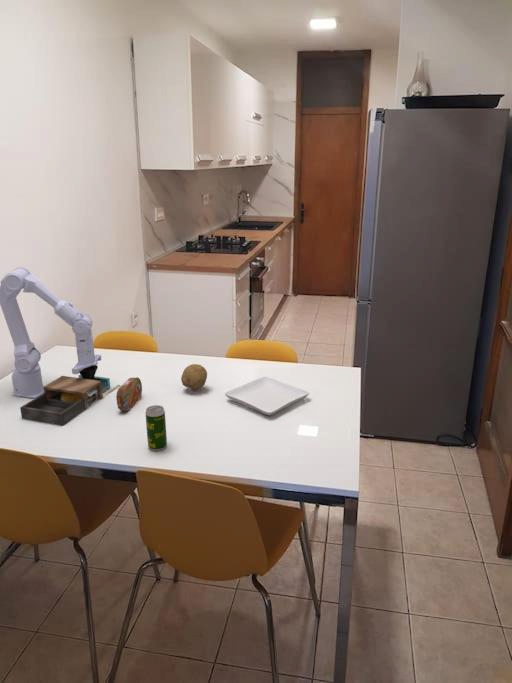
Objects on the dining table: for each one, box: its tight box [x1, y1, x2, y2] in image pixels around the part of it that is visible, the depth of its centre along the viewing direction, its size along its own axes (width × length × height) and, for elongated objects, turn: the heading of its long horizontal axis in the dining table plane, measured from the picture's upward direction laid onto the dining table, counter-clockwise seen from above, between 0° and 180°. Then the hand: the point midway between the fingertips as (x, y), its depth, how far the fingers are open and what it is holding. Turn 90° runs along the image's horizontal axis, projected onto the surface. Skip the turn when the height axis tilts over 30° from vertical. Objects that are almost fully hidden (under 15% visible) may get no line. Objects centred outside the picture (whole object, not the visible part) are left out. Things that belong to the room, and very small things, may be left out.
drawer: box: [47, 373, 111, 408], centre depth 184 cm, size 12×19×4 cm, turn 162°
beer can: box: [144, 404, 168, 452], centre depth 151 cm, size 5×5×12 cm
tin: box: [115, 376, 143, 412], centre depth 178 cm, size 15×3×8 cm, turn 168°
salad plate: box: [224, 376, 310, 416], centre depth 181 cm, size 21×21×3 cm
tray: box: [19, 375, 121, 426], centre depth 181 cm, size 16×32×6 cm, turn 162°
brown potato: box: [180, 363, 208, 392], centre depth 188 cm, size 9×9×10 cm
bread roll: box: [59, 392, 89, 403], centre depth 182 cm, size 8×9×4 cm
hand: (89, 385), depth 190 cm, fingers closed
